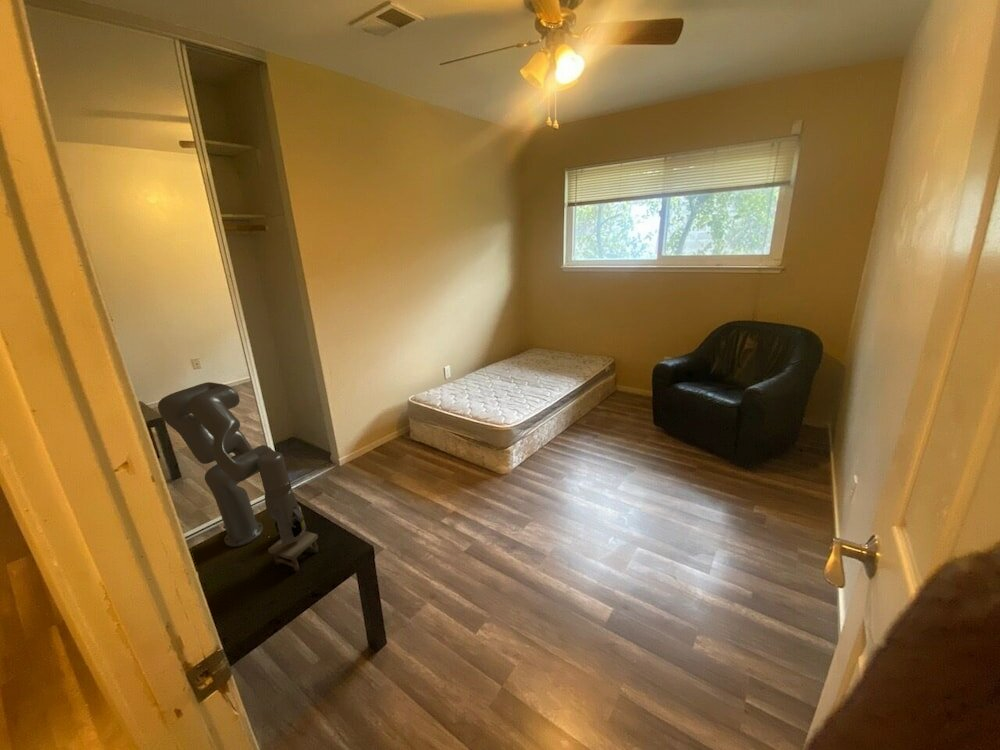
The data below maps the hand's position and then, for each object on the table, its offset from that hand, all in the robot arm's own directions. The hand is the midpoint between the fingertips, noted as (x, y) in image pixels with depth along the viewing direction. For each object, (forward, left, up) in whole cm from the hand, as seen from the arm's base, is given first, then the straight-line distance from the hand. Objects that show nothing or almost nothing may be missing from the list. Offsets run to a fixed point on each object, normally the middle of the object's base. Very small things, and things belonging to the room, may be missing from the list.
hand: (289, 531), depth 138 cm
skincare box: (0, 0, -3) cm, 3 cm away
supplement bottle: (-11, +10, -12) cm, 19 cm away
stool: (0, 0, -11) cm, 11 cm away
